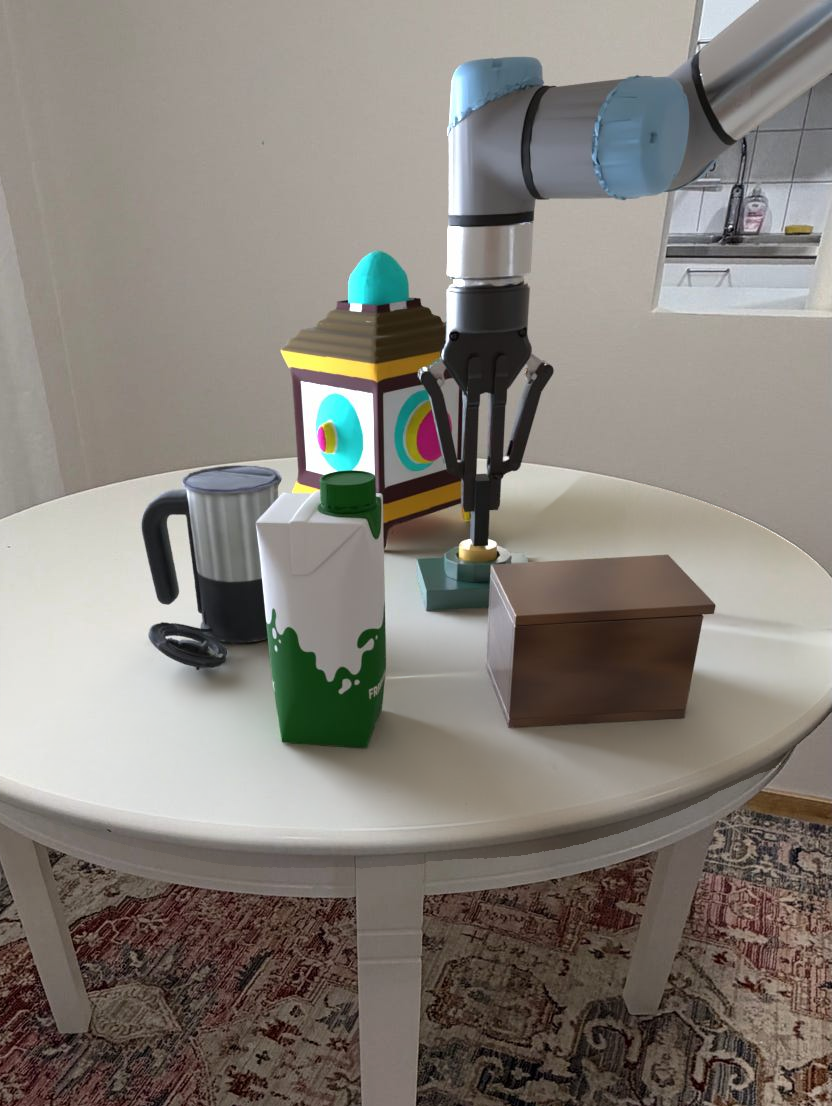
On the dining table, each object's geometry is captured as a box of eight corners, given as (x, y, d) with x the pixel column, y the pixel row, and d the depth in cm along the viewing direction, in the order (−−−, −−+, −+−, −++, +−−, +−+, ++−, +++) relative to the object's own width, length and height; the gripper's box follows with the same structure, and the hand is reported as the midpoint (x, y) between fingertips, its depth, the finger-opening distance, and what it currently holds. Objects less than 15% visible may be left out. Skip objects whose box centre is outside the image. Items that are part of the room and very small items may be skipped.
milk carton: (375, 755, 75) (368, 495, 64) (266, 747, 77) (239, 493, 65) (394, 704, 82) (391, 461, 70) (293, 698, 84) (273, 460, 72)
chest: (643, 658, 88) (657, 564, 83) (684, 717, 78) (703, 616, 73) (485, 667, 87) (490, 573, 82) (508, 728, 78) (515, 626, 73)
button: (493, 553, 103) (494, 537, 102) (499, 566, 99) (500, 549, 98) (456, 555, 103) (456, 539, 102) (461, 568, 99) (462, 551, 98)
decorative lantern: (275, 525, 125) (252, 255, 107) (384, 492, 135) (379, 241, 117) (380, 559, 112) (374, 261, 95) (491, 520, 123) (504, 245, 105)
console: (522, 572, 107) (525, 536, 105) (541, 605, 99) (544, 567, 97) (416, 577, 107) (416, 542, 105) (426, 611, 99) (426, 573, 97)
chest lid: (666, 563, 83) (668, 554, 82) (714, 614, 73) (716, 604, 73) (490, 573, 82) (490, 564, 82) (515, 625, 73) (515, 615, 72)
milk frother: (287, 605, 102) (275, 460, 93) (306, 667, 89) (294, 505, 80) (153, 619, 100) (127, 472, 91) (153, 684, 87) (124, 520, 79)
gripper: (551, 273, 89) (533, 527, 103) (412, 280, 89) (413, 534, 103) (569, 280, 83) (548, 549, 97) (420, 288, 83) (420, 557, 97)
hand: (479, 541), depth 100 cm, fingers closed
